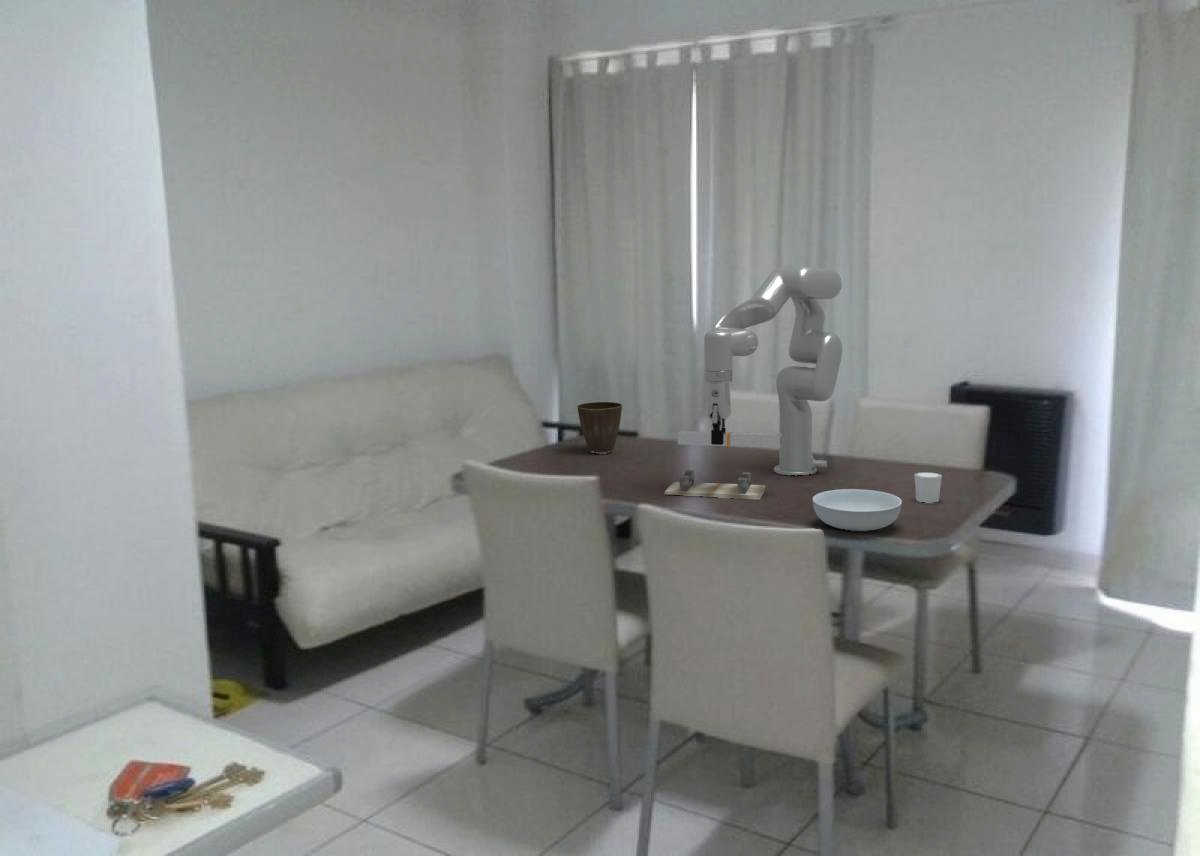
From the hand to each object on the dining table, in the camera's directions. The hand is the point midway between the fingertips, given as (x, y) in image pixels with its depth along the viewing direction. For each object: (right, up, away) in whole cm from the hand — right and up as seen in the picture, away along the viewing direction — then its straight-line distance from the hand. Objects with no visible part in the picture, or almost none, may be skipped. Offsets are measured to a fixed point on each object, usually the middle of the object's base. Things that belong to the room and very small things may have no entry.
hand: (718, 442), depth 282 cm
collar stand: (-1, -14, +3) cm, 14 cm away
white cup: (+54, -15, -12) cm, 57 cm away
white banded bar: (+3, -1, -1) cm, 3 cm away
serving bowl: (+29, -20, -34) cm, 49 cm away
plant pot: (-32, -4, +62) cm, 70 cm away
